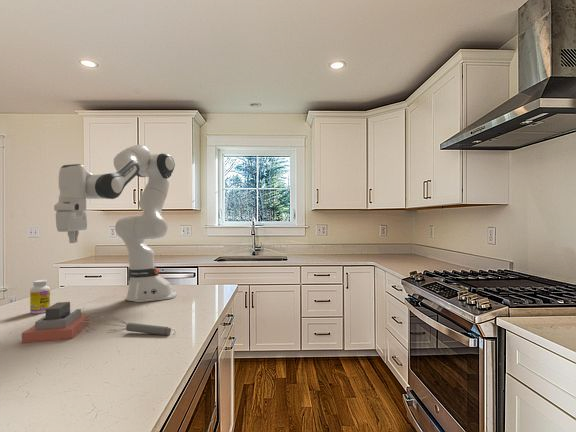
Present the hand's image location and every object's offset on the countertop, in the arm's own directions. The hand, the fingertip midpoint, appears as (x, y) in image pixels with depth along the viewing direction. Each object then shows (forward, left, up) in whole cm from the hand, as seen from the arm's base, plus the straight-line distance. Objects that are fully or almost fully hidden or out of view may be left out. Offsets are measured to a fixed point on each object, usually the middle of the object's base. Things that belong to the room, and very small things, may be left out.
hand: (73, 242), depth 130 cm
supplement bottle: (+18, -16, -29) cm, 38 cm away
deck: (0, +15, -29) cm, 33 cm away
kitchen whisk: (-23, +21, -30) cm, 43 cm away
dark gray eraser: (0, +14, -26) cm, 30 cm away
